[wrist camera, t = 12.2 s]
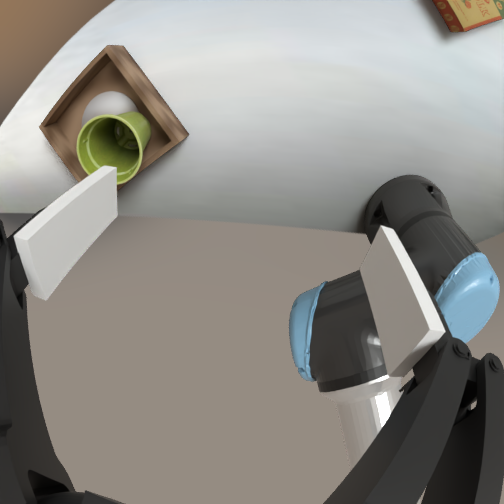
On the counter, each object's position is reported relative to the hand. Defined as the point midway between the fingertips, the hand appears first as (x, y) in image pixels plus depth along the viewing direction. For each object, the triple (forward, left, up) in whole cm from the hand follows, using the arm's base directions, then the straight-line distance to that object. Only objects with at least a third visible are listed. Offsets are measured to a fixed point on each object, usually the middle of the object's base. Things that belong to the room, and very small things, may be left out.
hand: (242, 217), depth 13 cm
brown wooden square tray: (+13, +19, -28) cm, 37 cm away
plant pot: (+10, +16, -27) cm, 33 cm away
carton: (+6, -40, -29) cm, 50 cm away
